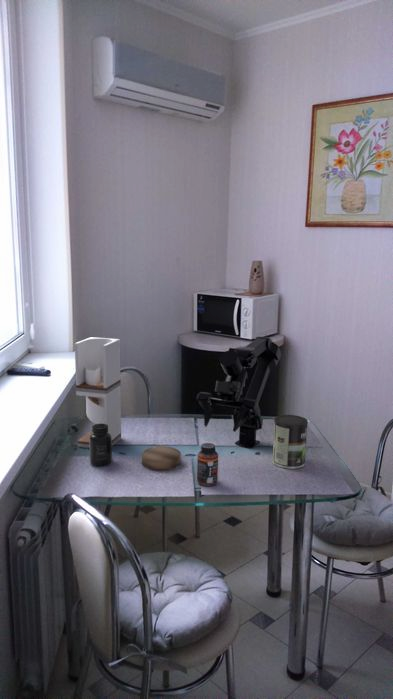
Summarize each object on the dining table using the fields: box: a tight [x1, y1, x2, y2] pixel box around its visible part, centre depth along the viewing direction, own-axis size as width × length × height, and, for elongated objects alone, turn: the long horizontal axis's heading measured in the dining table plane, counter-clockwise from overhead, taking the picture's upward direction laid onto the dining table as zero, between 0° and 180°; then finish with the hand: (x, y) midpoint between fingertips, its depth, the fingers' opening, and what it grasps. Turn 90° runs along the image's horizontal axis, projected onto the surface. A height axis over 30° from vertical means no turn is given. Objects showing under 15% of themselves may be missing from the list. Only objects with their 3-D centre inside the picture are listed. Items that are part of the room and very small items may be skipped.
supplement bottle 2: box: [196, 442, 219, 487], centre depth 156 cm, size 6×6×11 cm
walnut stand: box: [141, 445, 182, 472], centre depth 170 cm, size 12×12×3 cm
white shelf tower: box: [74, 336, 122, 449], centre depth 182 cm, size 11×11×35 cm
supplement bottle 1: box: [89, 424, 113, 468], centre depth 168 cm, size 7×7×12 cm
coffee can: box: [271, 414, 309, 470], centre depth 171 cm, size 10×10×14 cm
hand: (219, 428), depth 162 cm, fingers open, 9 cm apart
